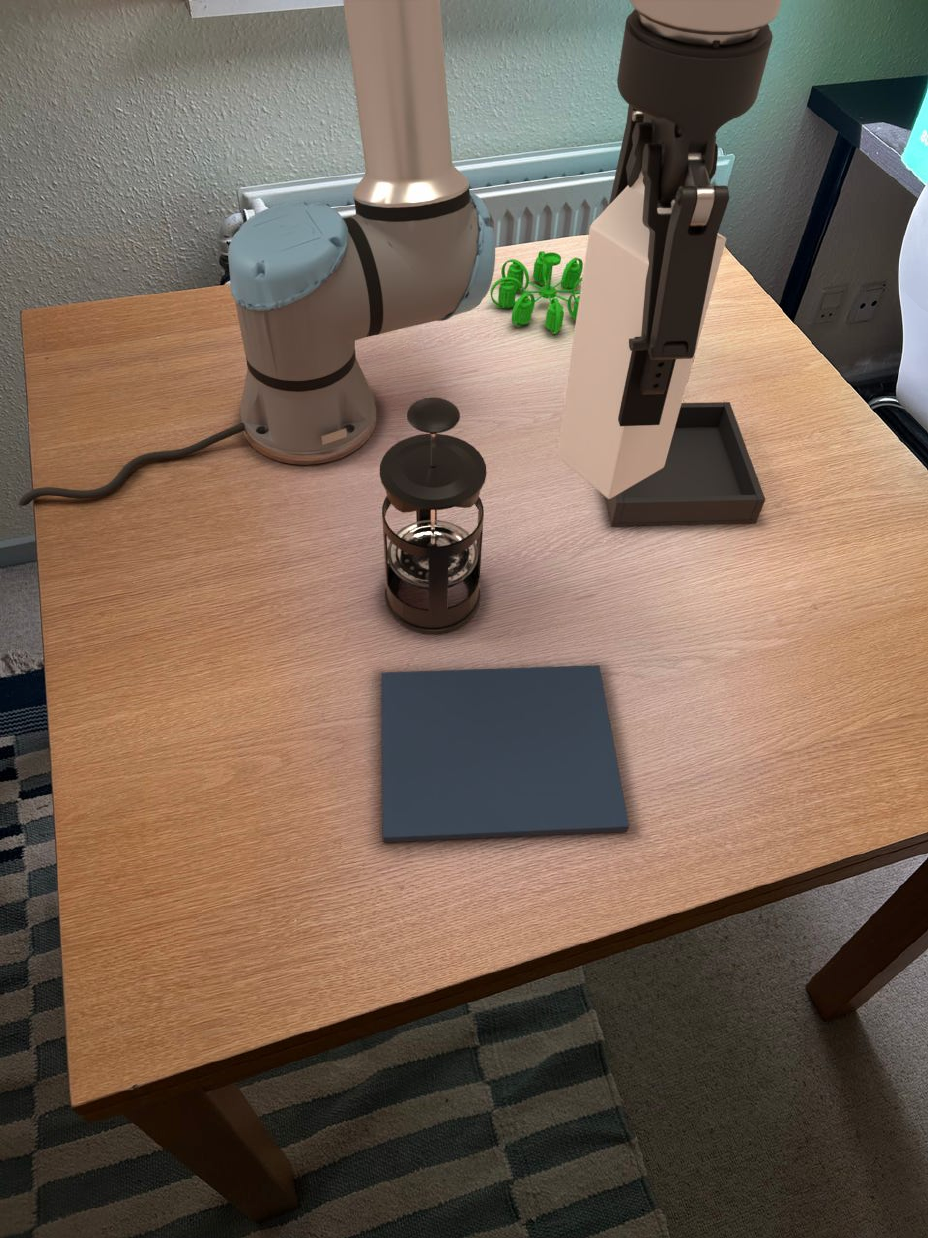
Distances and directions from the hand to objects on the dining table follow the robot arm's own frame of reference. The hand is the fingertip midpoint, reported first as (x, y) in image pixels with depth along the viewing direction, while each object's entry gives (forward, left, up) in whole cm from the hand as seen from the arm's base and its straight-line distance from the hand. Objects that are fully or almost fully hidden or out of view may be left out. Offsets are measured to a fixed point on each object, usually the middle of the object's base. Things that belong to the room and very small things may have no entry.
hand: (626, 380), depth 65 cm
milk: (0, 0, -8) cm, 8 cm away
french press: (-13, +5, -30) cm, 33 cm away
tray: (+14, +21, -29) cm, 39 cm away
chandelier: (+4, +53, -30) cm, 61 cm away
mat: (-8, -13, -29) cm, 33 cm away
